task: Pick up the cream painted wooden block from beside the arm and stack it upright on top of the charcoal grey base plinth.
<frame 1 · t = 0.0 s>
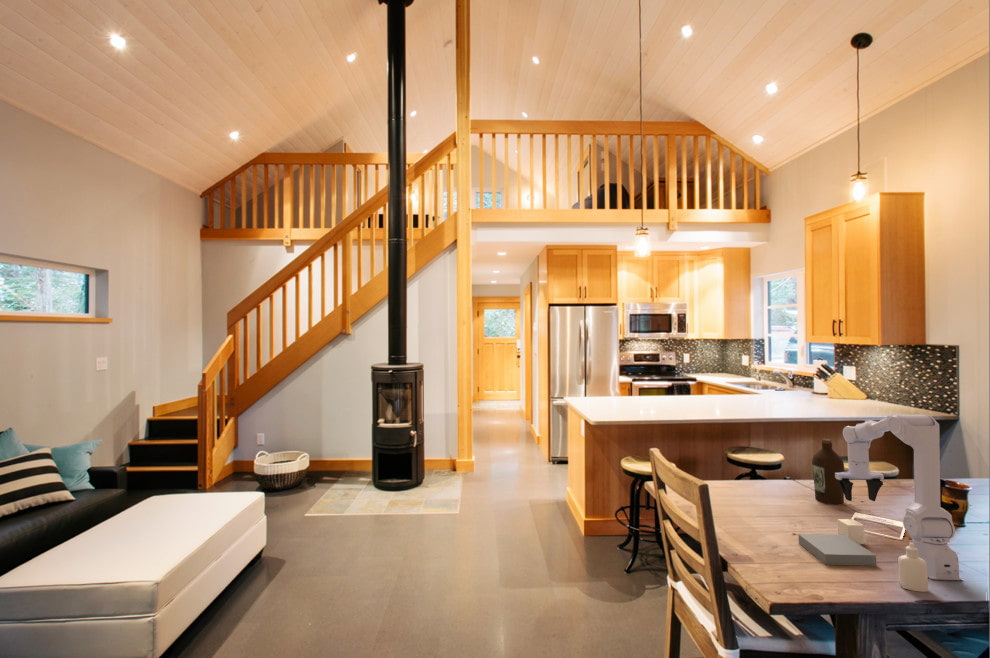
hand: (860, 500, 157), 10 cm above the table, tool pointing down, fingers open, 7 cm apart
olive oil: (829, 501, 184), on the table
cream block: (851, 540, 149), on the table
base plinth: (835, 553, 140), on the table
eye dropper bottle: (913, 589, 120), on the table
photo frame: (877, 528, 159), on the table
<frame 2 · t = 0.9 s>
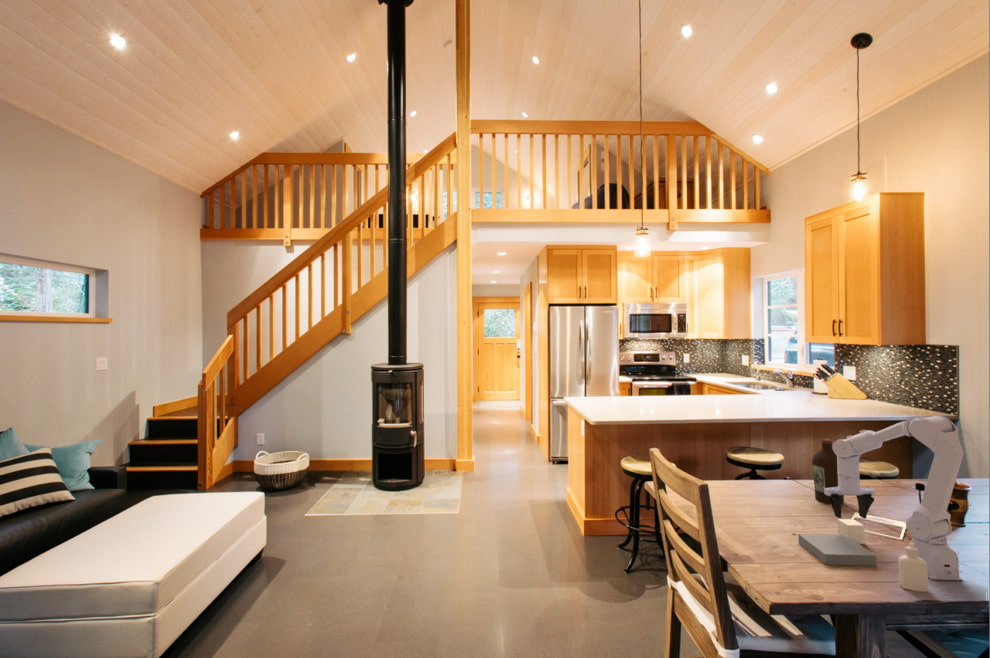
hand: (850, 517, 149), 8 cm above the table, tool pointing down, fingers open, 7 cm apart
nothing on the table moved.
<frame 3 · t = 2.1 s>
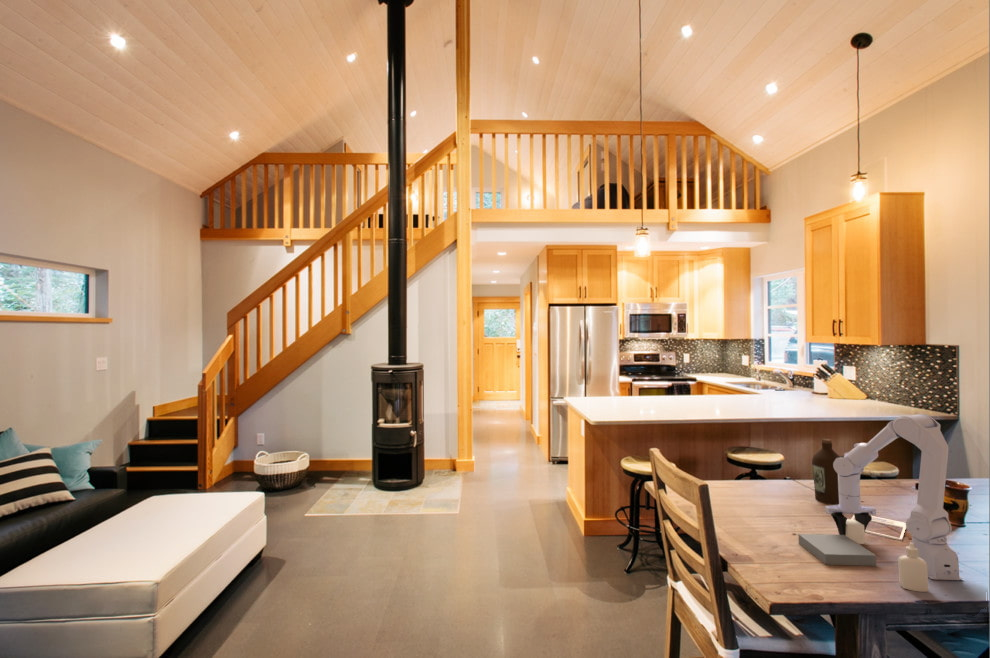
hand: (851, 535, 149), 2 cm above the table, tool pointing down, fingers closed on cream block, 5 cm apart
cream block: (851, 540, 149), on the table, touching gripper
everything else where it was.
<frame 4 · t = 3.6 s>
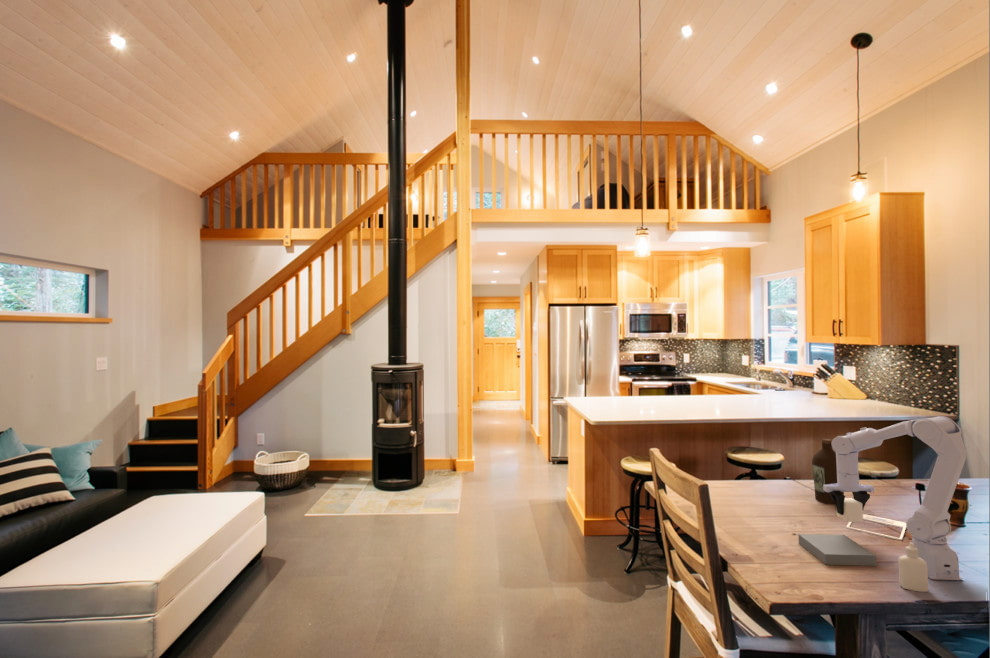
hand: (849, 513, 148), 9 cm above the table, tool pointing down, fingers closed on cream block, 5 cm apart
cream block: (849, 518, 148), point 7 cm above the table, touching gripper
everything else where it was.
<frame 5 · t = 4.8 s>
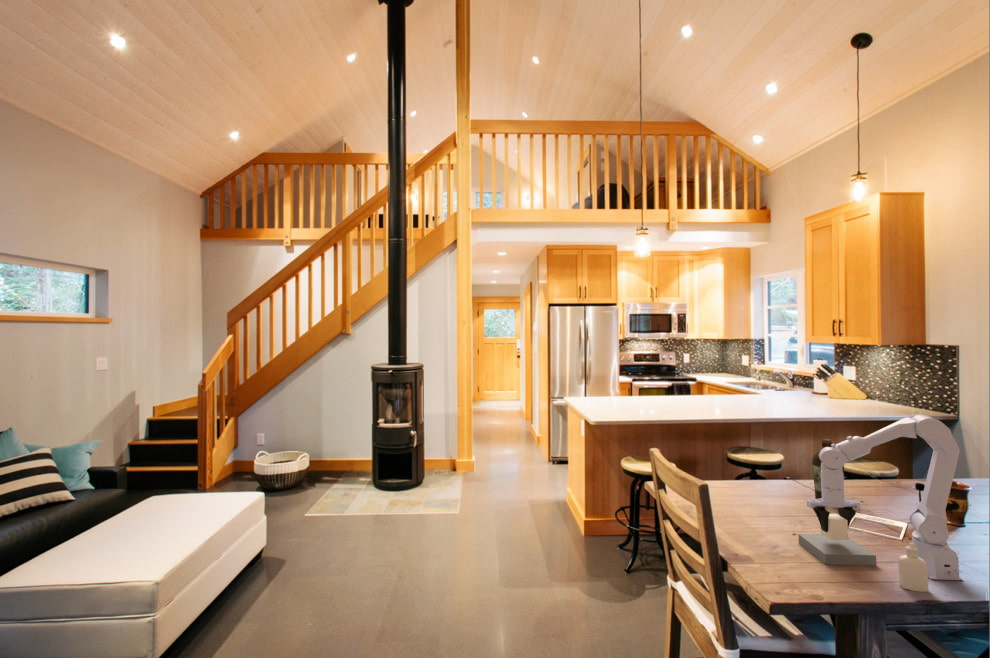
hand: (834, 530, 140), 7 cm above the table, tool pointing down, fingers closed on cream block, 5 cm apart
cream block: (834, 536, 140), point 5 cm above the table, touching gripper
everything else where it was.
when the fingers open (6 cm above the table, at t = 5.5 s): cream block drops 1 cm, resting on base plinth.
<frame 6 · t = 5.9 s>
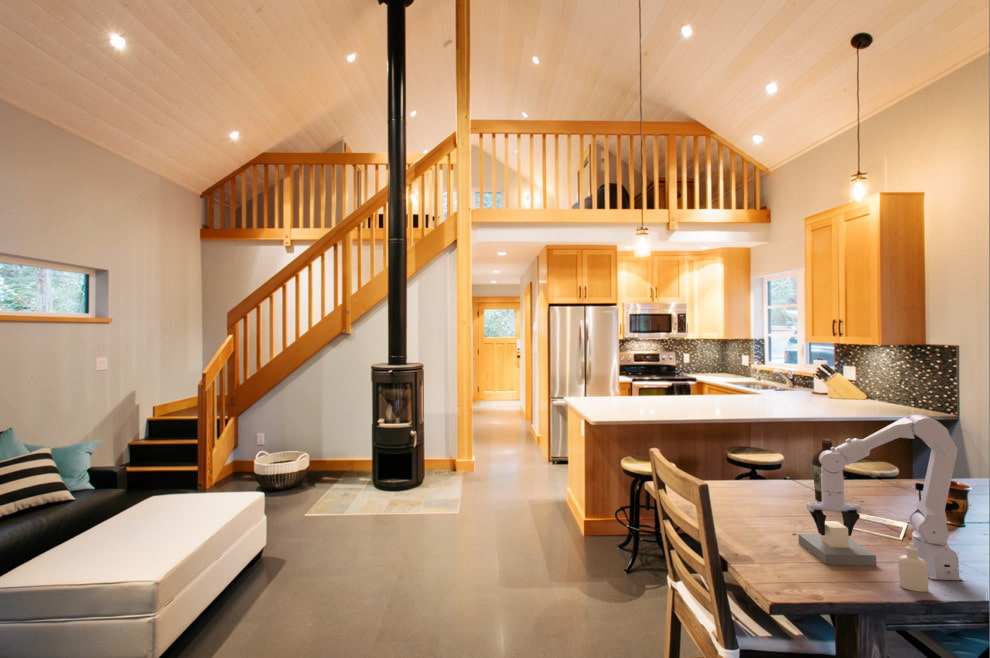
hand: (834, 534, 140), 6 cm above the table, tool pointing down, fingers open, 7 cm apart
cream block: (834, 543, 140), point 3 cm above the table, touching base plinth
everything else where it was.
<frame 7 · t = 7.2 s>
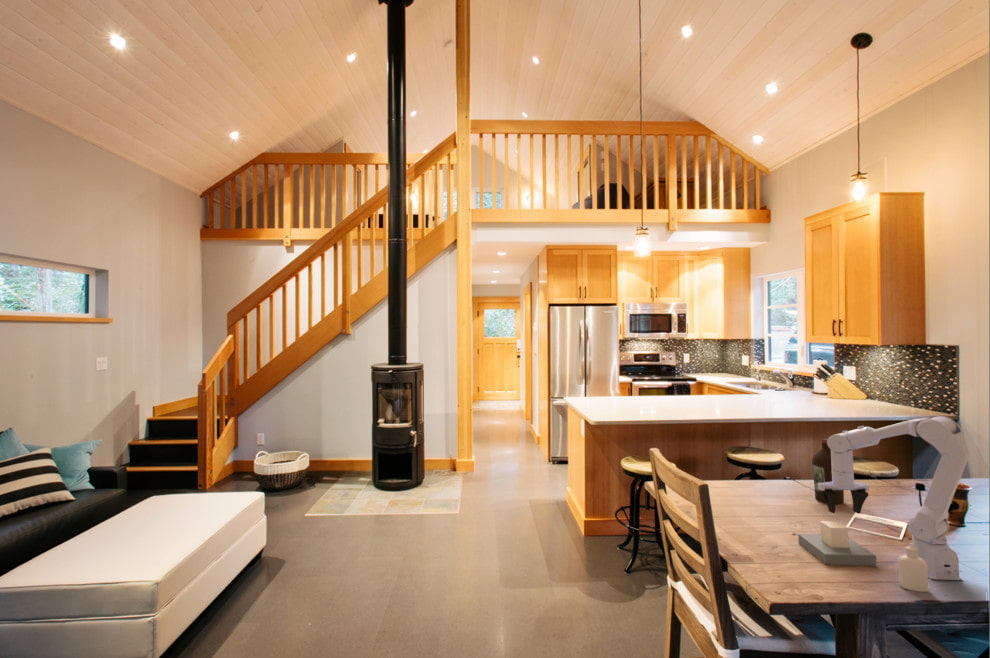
hand: (844, 512, 147), 10 cm above the table, tool pointing down, fingers open, 7 cm apart
nothing on the table moved.
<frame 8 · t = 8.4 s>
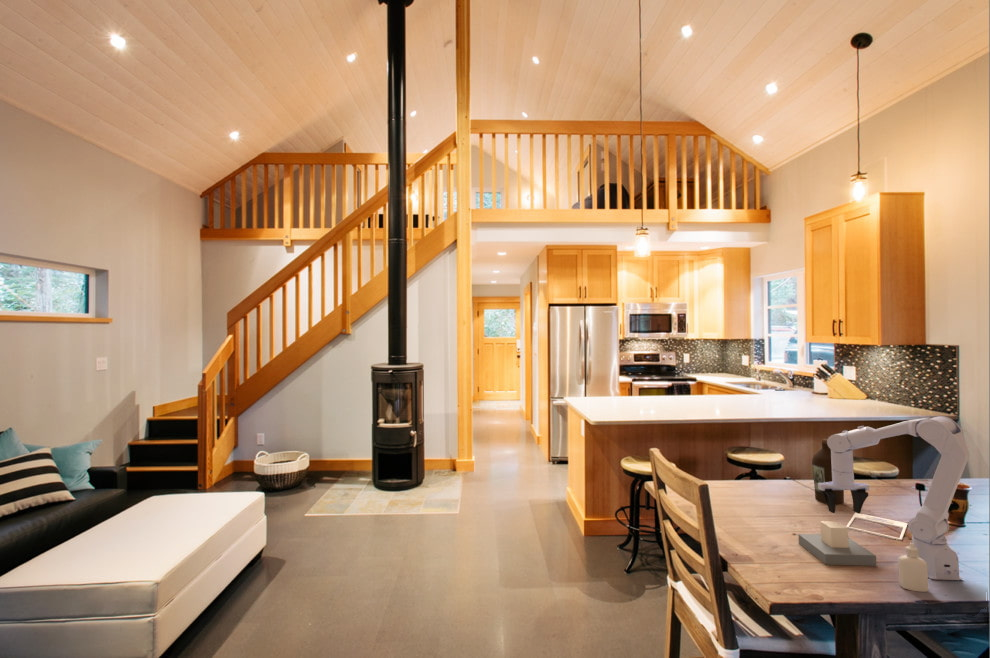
hand: (844, 512, 147), 10 cm above the table, tool pointing down, fingers open, 7 cm apart
nothing on the table moved.
at the end: cream block inside the target area on the base plinth (0.1 cm from its centre), point 3.0 cm above the base plinth's base; cream block tilted 0°; the gripper is holding nothing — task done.
